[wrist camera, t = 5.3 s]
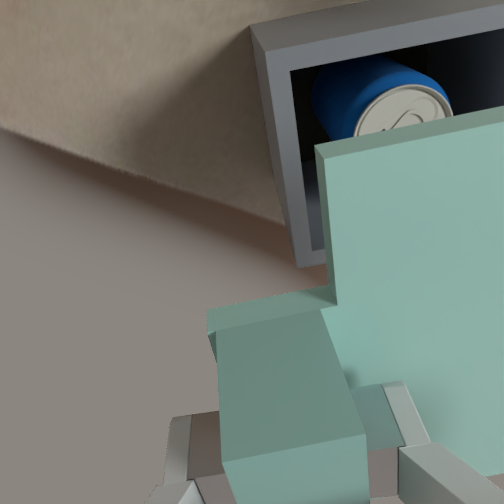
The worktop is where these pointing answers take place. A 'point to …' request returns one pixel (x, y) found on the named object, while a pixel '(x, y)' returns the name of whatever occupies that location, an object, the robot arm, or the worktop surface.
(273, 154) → the tub
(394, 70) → the beverage can
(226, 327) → the lid
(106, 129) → the worktop surface
